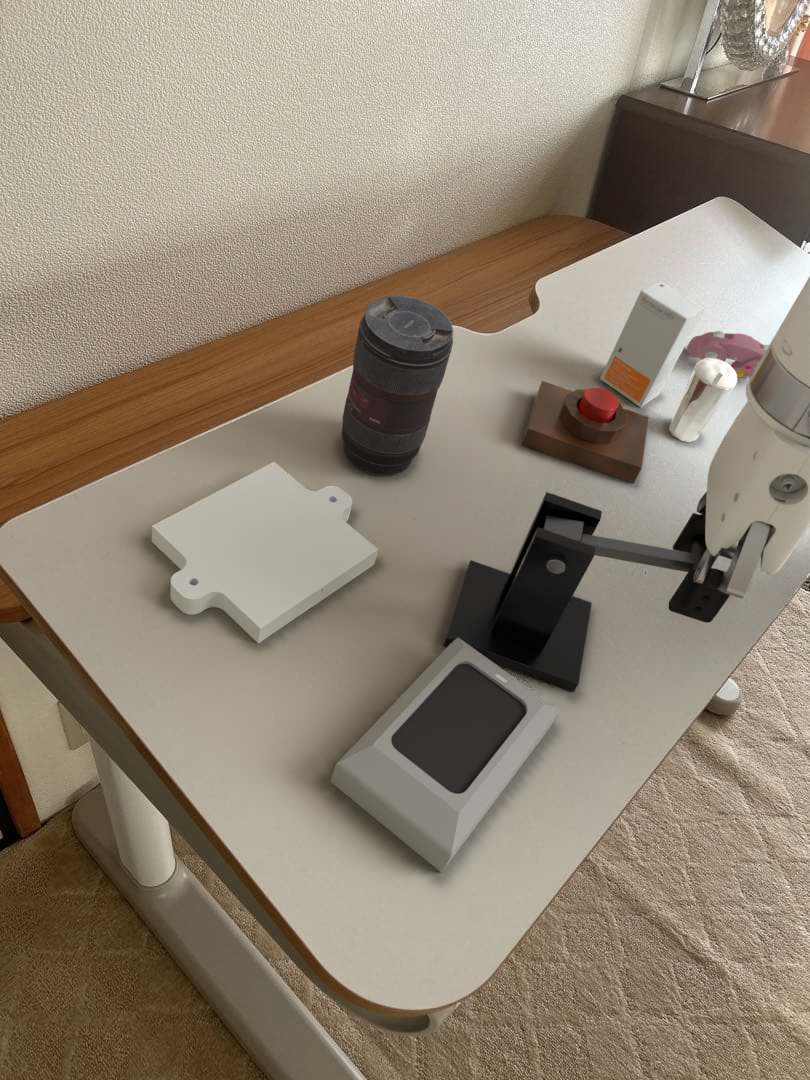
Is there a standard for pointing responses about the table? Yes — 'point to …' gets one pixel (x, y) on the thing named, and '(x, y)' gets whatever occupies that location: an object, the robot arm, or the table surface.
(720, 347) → the video game controller
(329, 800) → the table surface
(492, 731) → the card reader
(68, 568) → the table surface
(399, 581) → the table surface
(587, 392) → the button
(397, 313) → the camera lens
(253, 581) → the mounting plate
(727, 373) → the milkshake
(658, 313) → the cosmetic box
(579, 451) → the button block
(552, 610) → the bracket
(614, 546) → the lever
